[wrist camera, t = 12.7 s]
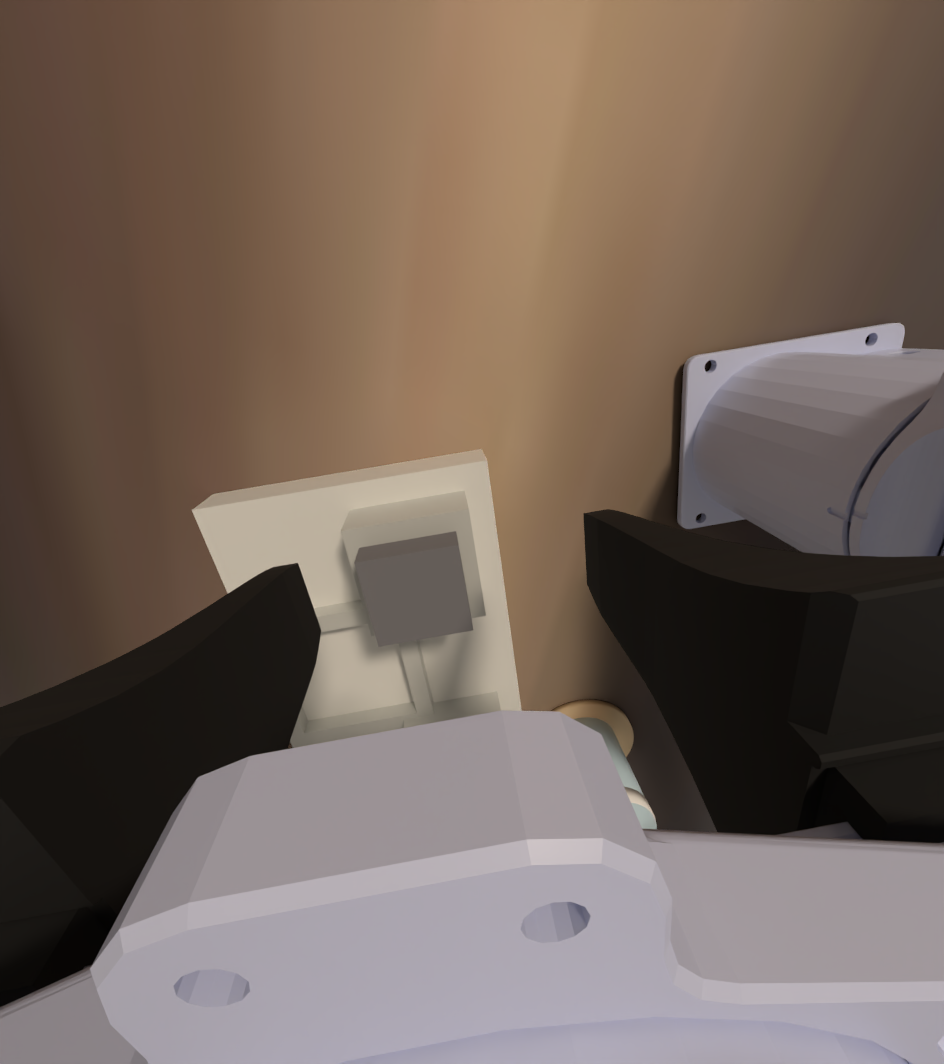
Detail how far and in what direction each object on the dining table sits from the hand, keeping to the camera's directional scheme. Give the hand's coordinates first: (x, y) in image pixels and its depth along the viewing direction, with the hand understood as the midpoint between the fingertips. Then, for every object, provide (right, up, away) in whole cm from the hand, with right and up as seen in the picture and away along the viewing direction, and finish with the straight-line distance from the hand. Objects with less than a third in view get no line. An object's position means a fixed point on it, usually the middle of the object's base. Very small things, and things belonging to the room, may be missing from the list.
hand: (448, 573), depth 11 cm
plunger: (-2, 0, +8) cm, 8 cm away
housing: (-3, -5, +13) cm, 14 cm away
